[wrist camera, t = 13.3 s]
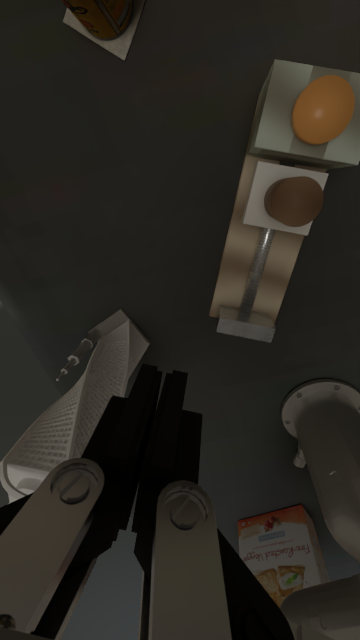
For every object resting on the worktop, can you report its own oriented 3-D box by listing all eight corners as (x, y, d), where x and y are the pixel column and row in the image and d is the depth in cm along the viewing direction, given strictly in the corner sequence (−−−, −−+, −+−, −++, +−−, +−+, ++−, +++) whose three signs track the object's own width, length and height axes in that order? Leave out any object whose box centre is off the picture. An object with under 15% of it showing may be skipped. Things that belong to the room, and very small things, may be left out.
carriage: (298, 230, 35) (326, 245, 26) (240, 219, 35) (248, 231, 26) (316, 175, 32) (354, 170, 23) (253, 163, 33) (267, 155, 24)
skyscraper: (128, 303, 44) (5, 464, 18) (161, 343, 46) (93, 537, 20) (88, 330, 46) (-66, 504, 21) (121, 367, 49) (17, 565, 23)
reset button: (327, 151, 27) (341, 147, 24) (279, 143, 27) (287, 138, 24) (347, 92, 25) (364, 80, 22) (295, 83, 25) (305, 70, 22)
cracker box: (300, 501, 57) (342, 659, 38) (313, 519, 58) (359, 679, 39) (235, 519, 61) (243, 668, 42) (249, 535, 63) (262, 686, 44)
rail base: (270, 324, 42) (284, 359, 34) (209, 311, 43) (207, 343, 34) (342, 108, 31) (390, 78, 23) (259, 94, 32) (275, 59, 23)
